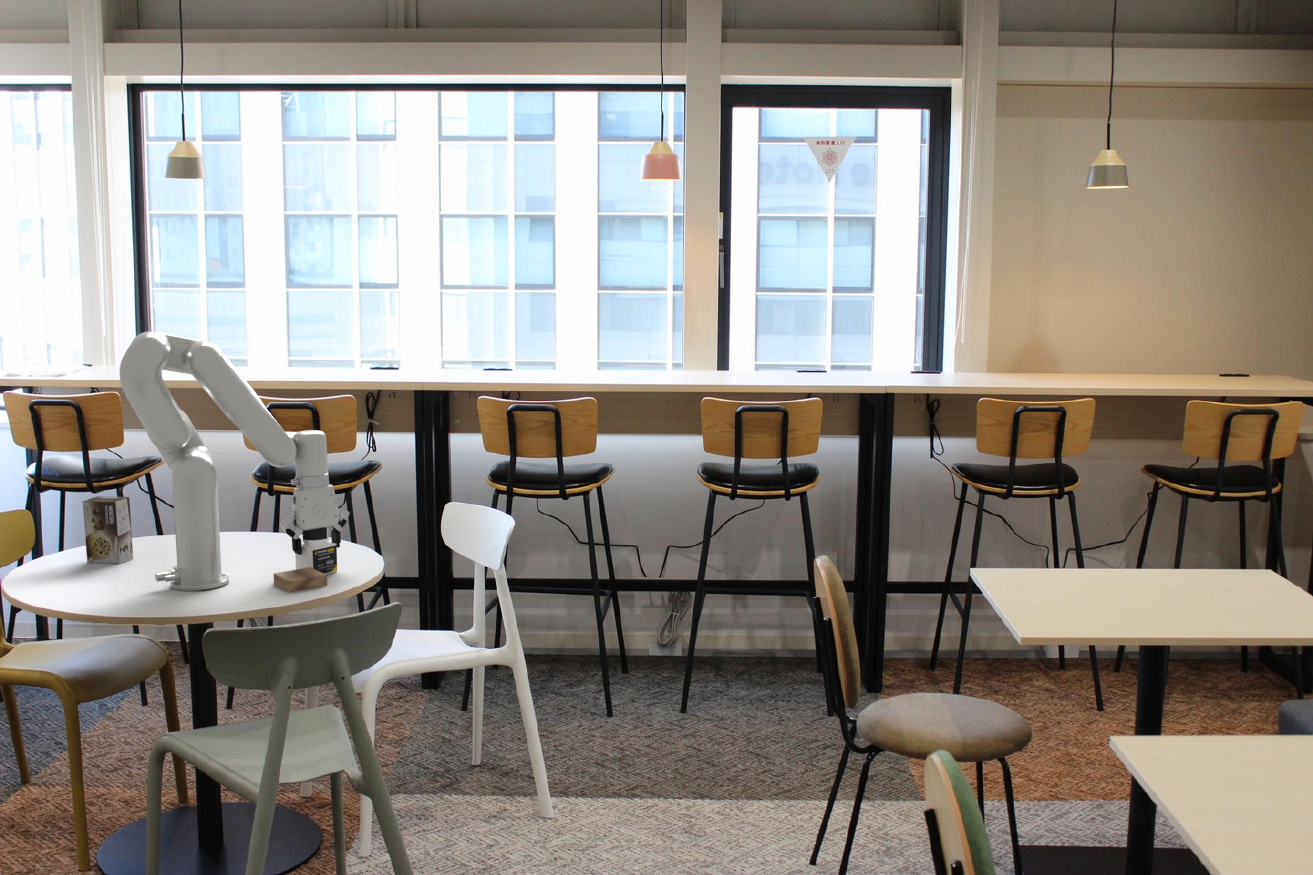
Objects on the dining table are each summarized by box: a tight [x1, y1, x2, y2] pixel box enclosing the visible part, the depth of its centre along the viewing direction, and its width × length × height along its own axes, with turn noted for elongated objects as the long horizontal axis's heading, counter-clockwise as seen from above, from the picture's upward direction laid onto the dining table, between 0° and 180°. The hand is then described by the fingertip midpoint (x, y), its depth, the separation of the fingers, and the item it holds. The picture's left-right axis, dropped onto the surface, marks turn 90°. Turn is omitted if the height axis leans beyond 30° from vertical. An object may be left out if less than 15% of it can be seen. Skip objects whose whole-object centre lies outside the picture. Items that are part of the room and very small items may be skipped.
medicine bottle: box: [294, 527, 338, 575], centre depth 264 cm, size 7×7×12 cm
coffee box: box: [82, 496, 134, 565], centre depth 274 cm, size 9×6×16 cm
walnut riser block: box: [273, 567, 328, 593], centre depth 254 cm, size 9×9×3 cm
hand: (317, 550), depth 264 cm, fingers open, 9 cm apart
